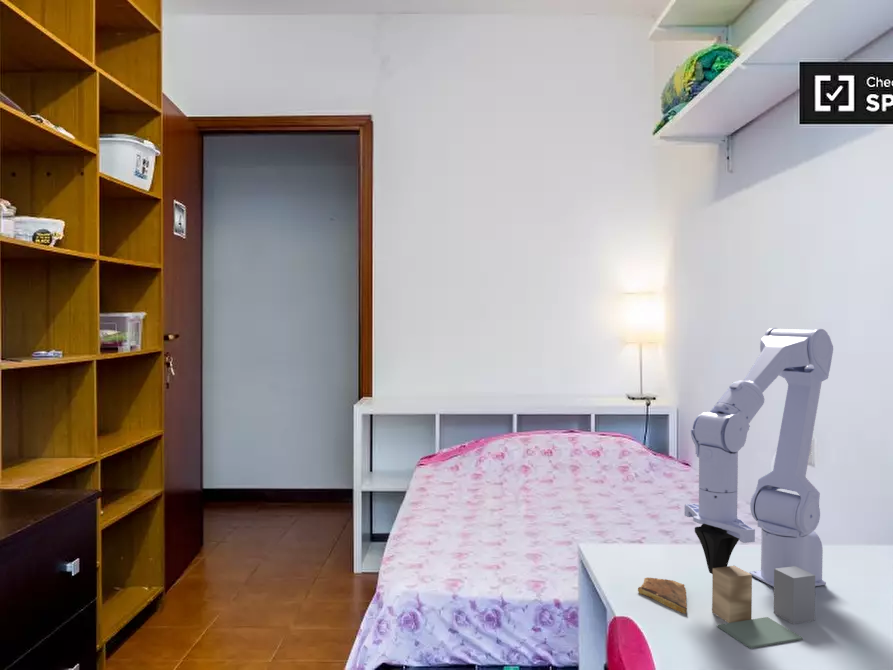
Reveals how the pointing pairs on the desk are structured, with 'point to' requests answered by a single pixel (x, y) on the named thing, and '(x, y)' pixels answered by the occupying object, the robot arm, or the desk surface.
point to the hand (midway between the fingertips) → (717, 573)
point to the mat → (759, 632)
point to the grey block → (794, 594)
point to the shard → (665, 593)
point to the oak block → (732, 594)
